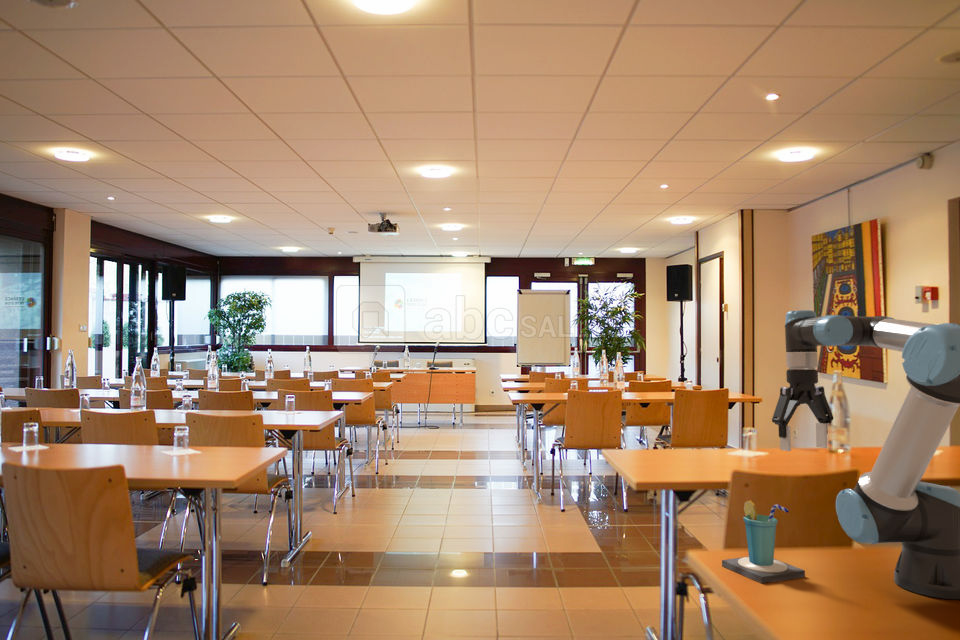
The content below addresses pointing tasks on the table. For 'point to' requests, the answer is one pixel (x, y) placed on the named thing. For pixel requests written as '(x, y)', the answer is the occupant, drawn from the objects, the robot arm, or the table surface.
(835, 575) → the table surface
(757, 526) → the cup
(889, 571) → the table surface
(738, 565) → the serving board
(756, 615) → the table surface
